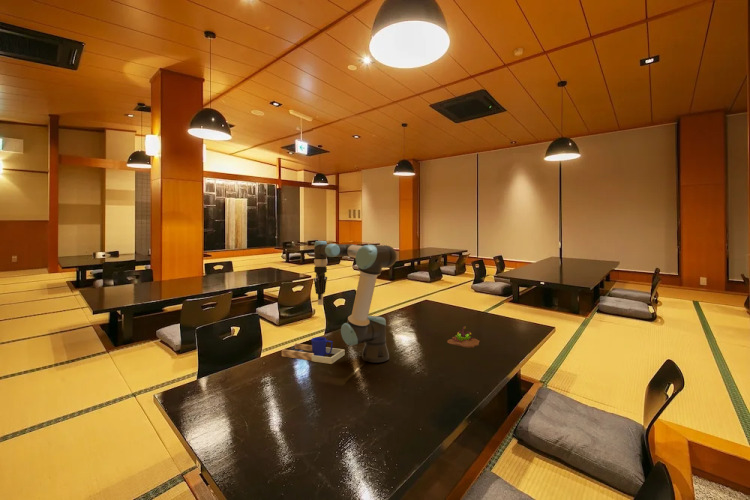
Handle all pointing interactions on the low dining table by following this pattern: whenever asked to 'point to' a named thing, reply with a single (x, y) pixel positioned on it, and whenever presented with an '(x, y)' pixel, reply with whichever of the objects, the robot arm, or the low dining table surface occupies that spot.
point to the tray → (329, 360)
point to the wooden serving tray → (299, 354)
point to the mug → (320, 346)
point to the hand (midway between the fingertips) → (320, 304)
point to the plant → (464, 340)
